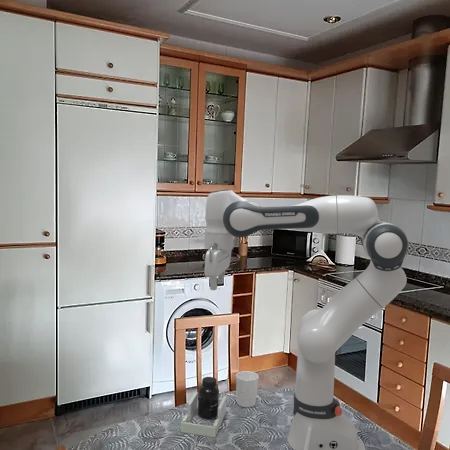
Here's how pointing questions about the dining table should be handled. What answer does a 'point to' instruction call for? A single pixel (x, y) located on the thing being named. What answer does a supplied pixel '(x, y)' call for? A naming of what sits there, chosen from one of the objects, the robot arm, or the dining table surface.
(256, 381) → the white cup
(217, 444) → the dining table surface
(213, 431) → the dock
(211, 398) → the supplement bottle
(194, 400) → the channel
